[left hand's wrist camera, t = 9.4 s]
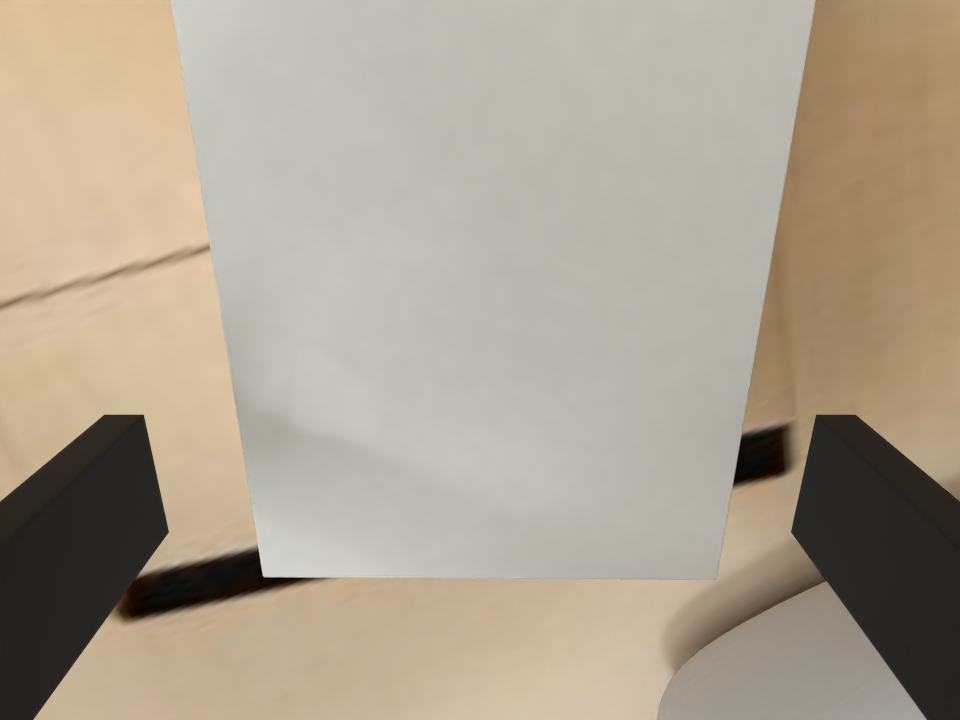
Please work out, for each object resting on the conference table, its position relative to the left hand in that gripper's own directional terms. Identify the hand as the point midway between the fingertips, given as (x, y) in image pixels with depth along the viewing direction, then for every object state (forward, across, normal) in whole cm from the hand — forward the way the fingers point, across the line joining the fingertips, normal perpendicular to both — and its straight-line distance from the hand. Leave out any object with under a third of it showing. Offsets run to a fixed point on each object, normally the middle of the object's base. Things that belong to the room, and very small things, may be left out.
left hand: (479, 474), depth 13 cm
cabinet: (+13, 0, -5) cm, 14 cm away
